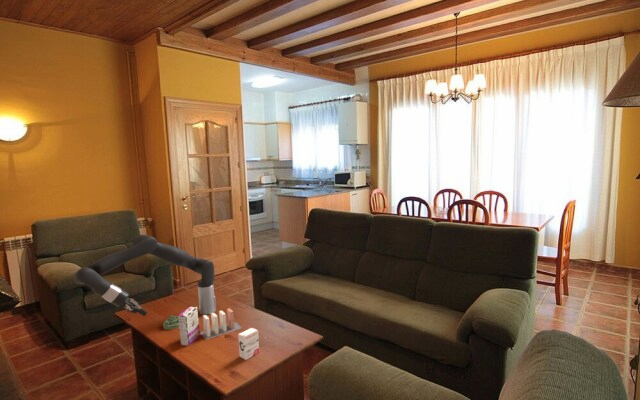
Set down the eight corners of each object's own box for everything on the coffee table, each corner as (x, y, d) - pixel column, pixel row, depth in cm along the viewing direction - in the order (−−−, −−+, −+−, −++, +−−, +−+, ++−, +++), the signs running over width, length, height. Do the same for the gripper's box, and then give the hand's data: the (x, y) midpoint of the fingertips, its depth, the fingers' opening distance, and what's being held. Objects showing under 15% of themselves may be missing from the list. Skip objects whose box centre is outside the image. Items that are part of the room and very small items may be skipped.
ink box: (253, 349, 181) (251, 326, 180) (259, 352, 178) (258, 329, 176) (239, 356, 175) (237, 333, 173) (245, 360, 171) (244, 336, 170)
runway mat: (235, 322, 211) (235, 321, 211) (242, 328, 203) (242, 328, 203) (199, 333, 199) (199, 332, 199) (205, 340, 191) (205, 339, 191)
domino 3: (223, 327, 204) (221, 310, 203) (226, 331, 200) (225, 313, 199) (220, 328, 203) (219, 311, 202) (223, 332, 199) (222, 314, 198)
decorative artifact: (159, 327, 207) (171, 332, 202) (158, 316, 206) (169, 320, 201) (175, 320, 216) (186, 324, 210) (174, 309, 215) (185, 313, 209)
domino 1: (207, 332, 199) (205, 314, 198) (210, 336, 195) (209, 318, 193) (204, 333, 198) (202, 315, 197) (207, 337, 194) (206, 319, 192)
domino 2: (215, 329, 202) (213, 312, 200) (218, 333, 197) (217, 316, 196) (212, 330, 201) (211, 313, 200) (215, 334, 196) (214, 316, 195)
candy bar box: (191, 335, 197) (189, 306, 195) (200, 335, 196) (198, 306, 194) (180, 345, 186) (177, 315, 184) (188, 346, 185) (186, 316, 183)
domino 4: (230, 324, 207) (229, 308, 206) (234, 328, 202) (233, 311, 201) (227, 325, 206) (226, 308, 205) (231, 329, 201) (230, 312, 200)
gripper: (120, 293, 169) (151, 312, 176) (121, 284, 181) (151, 303, 187) (108, 306, 167) (140, 325, 174) (110, 296, 179) (140, 315, 186)
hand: (145, 313), depth 181 cm, fingers closed
